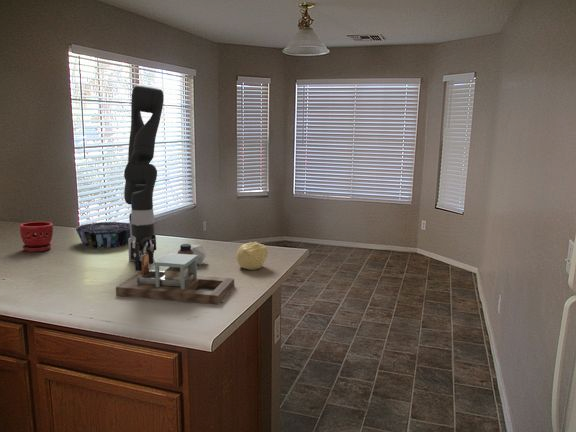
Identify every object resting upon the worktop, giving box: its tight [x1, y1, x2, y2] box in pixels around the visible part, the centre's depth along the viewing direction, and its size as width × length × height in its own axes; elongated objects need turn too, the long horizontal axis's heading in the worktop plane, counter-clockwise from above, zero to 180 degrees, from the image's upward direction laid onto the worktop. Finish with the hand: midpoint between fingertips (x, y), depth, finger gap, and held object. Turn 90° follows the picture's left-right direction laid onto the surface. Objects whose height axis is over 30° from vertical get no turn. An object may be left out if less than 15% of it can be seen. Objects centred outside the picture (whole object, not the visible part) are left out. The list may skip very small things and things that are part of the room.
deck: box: [115, 271, 235, 305], centre depth 166 cm, size 36×18×3 cm, turn 80°
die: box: [190, 244, 207, 266], centre depth 198 cm, size 8×9×10 cm
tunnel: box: [153, 252, 198, 289], centre depth 165 cm, size 11×12×9 cm
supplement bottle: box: [177, 243, 193, 255], centre depth 185 cm, size 6×6×11 cm
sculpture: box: [236, 241, 269, 271], centre depth 194 cm, size 11×12×11 cm
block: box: [164, 267, 188, 280], centre depth 165 cm, size 6×6×5 cm
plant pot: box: [19, 221, 54, 253], centre depth 215 cm, size 13×13×12 cm
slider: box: [137, 253, 194, 287], centre depth 165 cm, size 18×9×9 cm, turn 80°
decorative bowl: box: [74, 221, 130, 250], centre depth 229 cm, size 26×28×10 cm
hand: (144, 267), depth 167 cm, fingers open, 8 cm apart
